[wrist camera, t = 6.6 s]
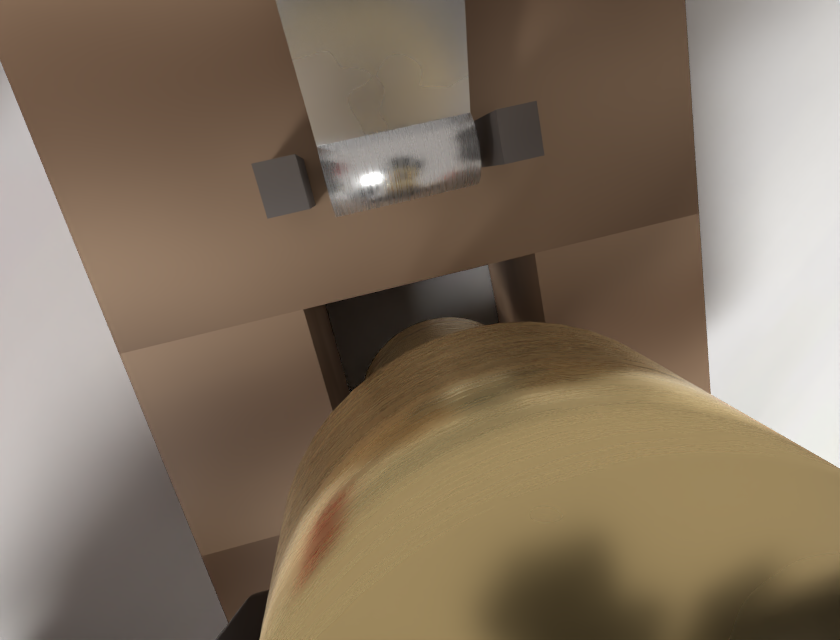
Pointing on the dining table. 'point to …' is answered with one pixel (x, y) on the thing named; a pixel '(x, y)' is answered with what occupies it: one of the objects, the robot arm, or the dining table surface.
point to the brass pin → (550, 502)
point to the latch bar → (385, 97)
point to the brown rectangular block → (345, 217)
